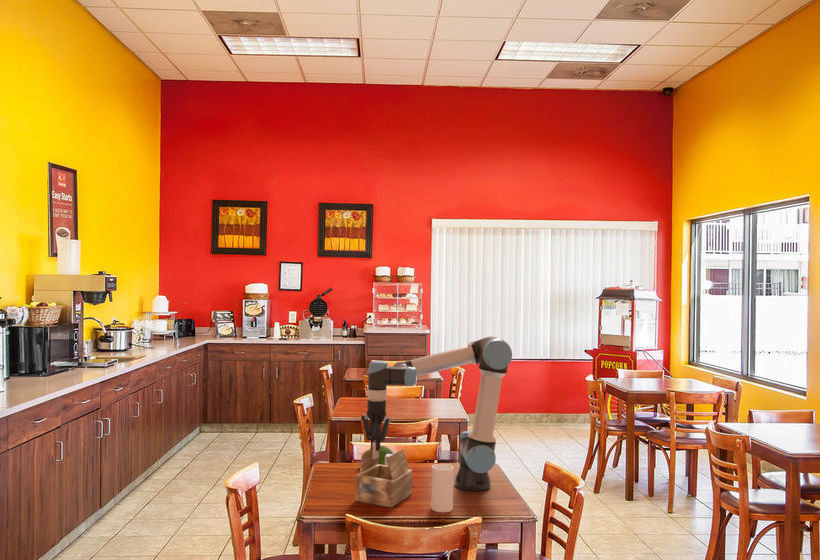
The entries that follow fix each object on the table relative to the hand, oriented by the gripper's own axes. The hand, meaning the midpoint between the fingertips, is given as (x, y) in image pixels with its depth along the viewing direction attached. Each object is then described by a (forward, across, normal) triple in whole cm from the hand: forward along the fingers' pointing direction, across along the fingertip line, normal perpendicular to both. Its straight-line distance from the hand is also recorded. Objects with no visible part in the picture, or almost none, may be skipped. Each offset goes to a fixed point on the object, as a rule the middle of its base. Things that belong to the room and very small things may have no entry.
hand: (375, 458), depth 251 cm
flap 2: (+5, -12, 0) cm, 13 cm away
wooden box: (+15, -5, 0) cm, 16 cm away
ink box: (+15, 0, -19) cm, 25 cm away
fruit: (+15, +17, -35) cm, 42 cm away
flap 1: (+5, +3, 0) cm, 6 cm away
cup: (+15, -30, 0) cm, 33 cm away
